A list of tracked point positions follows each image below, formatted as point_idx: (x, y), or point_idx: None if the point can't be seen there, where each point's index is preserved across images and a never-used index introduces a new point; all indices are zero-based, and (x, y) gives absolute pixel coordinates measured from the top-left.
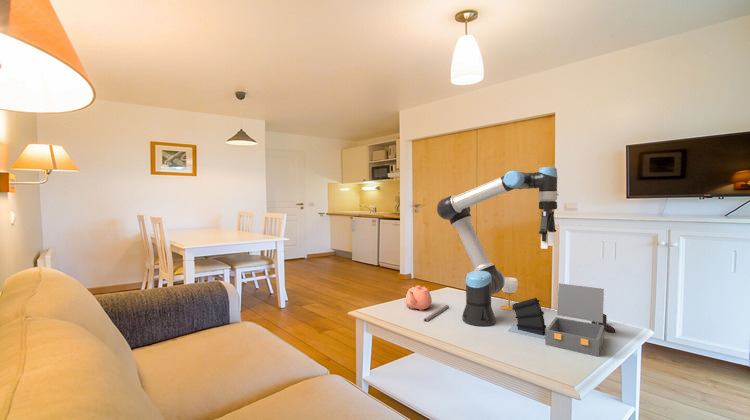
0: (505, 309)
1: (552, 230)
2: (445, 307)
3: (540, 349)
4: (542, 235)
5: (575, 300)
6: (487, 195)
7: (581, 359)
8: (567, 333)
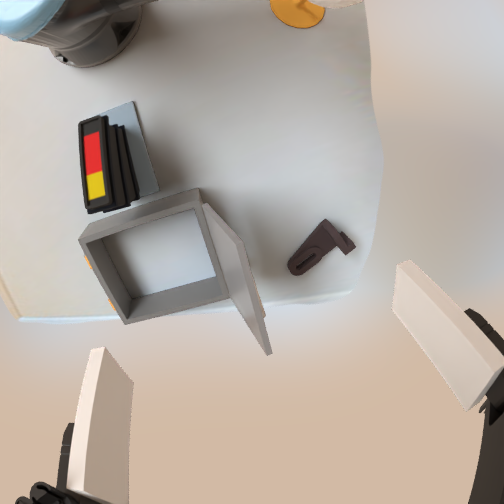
0: (270, 3)
1: (495, 407)
2: None
3: (61, 231)
4: (61, 479)
5: (231, 271)
6: None
7: (92, 292)
8: (102, 277)
